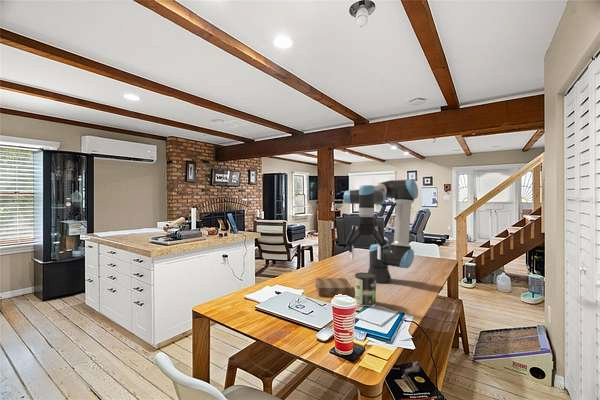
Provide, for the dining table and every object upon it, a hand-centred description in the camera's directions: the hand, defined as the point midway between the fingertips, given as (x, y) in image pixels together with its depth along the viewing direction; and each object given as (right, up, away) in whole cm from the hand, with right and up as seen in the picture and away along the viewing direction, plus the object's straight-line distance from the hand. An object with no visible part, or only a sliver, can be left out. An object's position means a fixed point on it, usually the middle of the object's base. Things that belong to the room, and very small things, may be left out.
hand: (365, 259), depth 140 cm
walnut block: (-14, -22, +19) cm, 32 cm away
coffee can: (0, -22, 0) cm, 22 cm away
